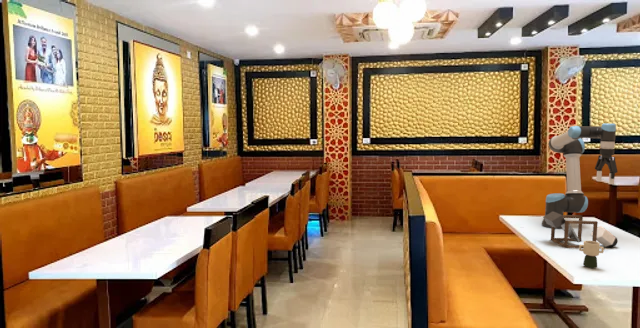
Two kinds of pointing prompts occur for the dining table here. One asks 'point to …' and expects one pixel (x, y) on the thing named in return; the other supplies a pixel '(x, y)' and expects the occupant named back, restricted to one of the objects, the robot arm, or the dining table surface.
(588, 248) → the character mug
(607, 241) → the jar
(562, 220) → the trapdoor
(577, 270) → the dining table surface
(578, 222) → the trapdoor frame
